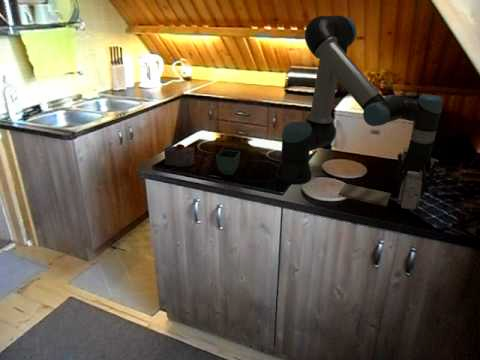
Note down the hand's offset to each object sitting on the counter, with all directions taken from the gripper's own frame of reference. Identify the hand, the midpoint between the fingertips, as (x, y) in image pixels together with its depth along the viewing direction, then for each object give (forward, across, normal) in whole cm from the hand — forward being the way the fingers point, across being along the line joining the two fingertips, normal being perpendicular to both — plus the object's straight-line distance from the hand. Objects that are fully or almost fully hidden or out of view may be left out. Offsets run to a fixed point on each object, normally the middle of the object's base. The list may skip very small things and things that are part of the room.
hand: (408, 199), depth 143 cm
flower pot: (+3, -74, -7) cm, 74 cm away
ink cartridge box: (+2, 0, 0) cm, 2 cm away
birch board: (+3, -16, 0) cm, 16 cm away
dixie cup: (+3, -4, +33) cm, 33 cm away
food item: (+4, -98, -10) cm, 98 cm away
